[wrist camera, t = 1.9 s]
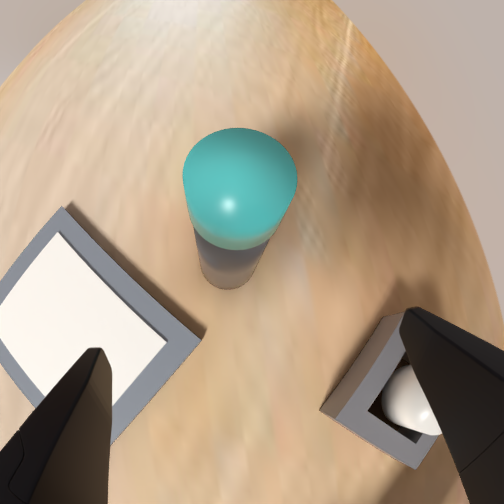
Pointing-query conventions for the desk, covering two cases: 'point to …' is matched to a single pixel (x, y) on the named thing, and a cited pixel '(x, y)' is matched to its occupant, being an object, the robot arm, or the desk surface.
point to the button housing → (367, 389)
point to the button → (408, 403)
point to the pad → (85, 321)
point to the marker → (236, 200)
